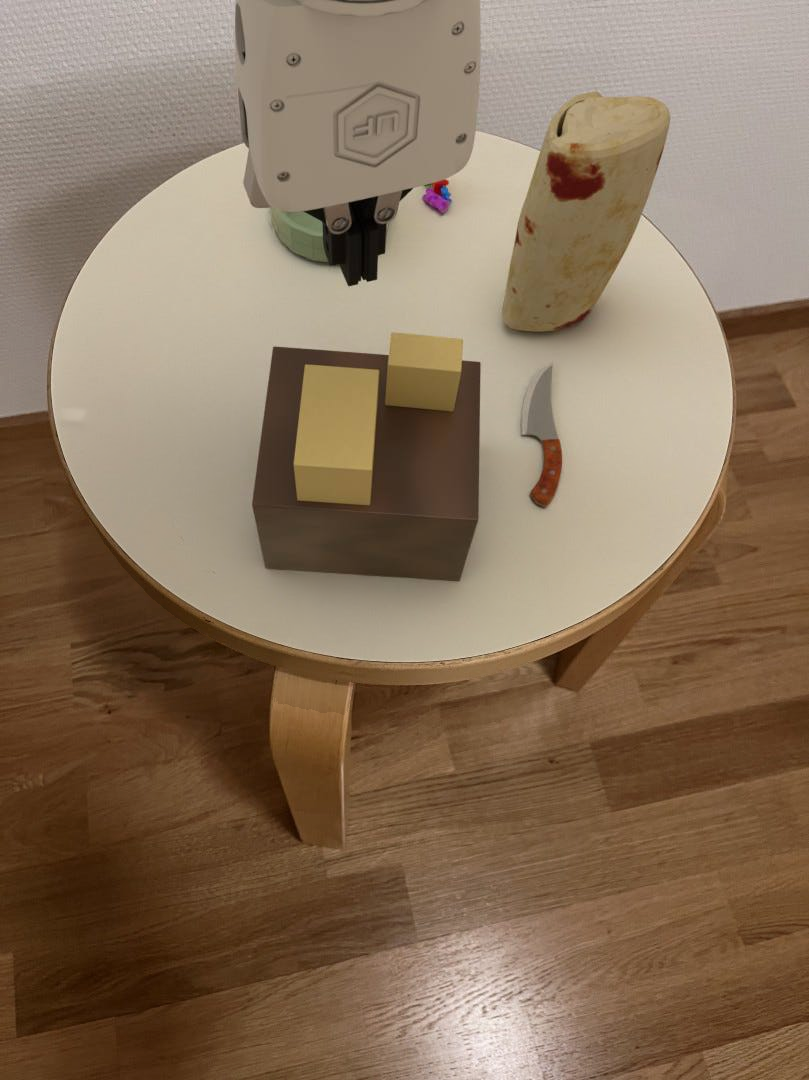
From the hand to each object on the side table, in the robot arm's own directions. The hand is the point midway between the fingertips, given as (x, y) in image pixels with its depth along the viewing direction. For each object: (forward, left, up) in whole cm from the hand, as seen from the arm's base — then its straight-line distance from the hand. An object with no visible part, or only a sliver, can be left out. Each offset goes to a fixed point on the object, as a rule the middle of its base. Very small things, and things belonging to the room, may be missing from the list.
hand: (353, 263), depth 49 cm
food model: (+15, +15, -21) cm, 31 cm away
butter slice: (+4, -1, -11) cm, 12 cm away
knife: (+14, +3, -21) cm, 26 cm away
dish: (-4, +23, -21) cm, 32 cm away
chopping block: (+1, -4, -21) cm, 22 cm away
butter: (-1, -6, -11) cm, 13 cm away
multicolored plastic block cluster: (+5, +27, -21) cm, 35 cm away
